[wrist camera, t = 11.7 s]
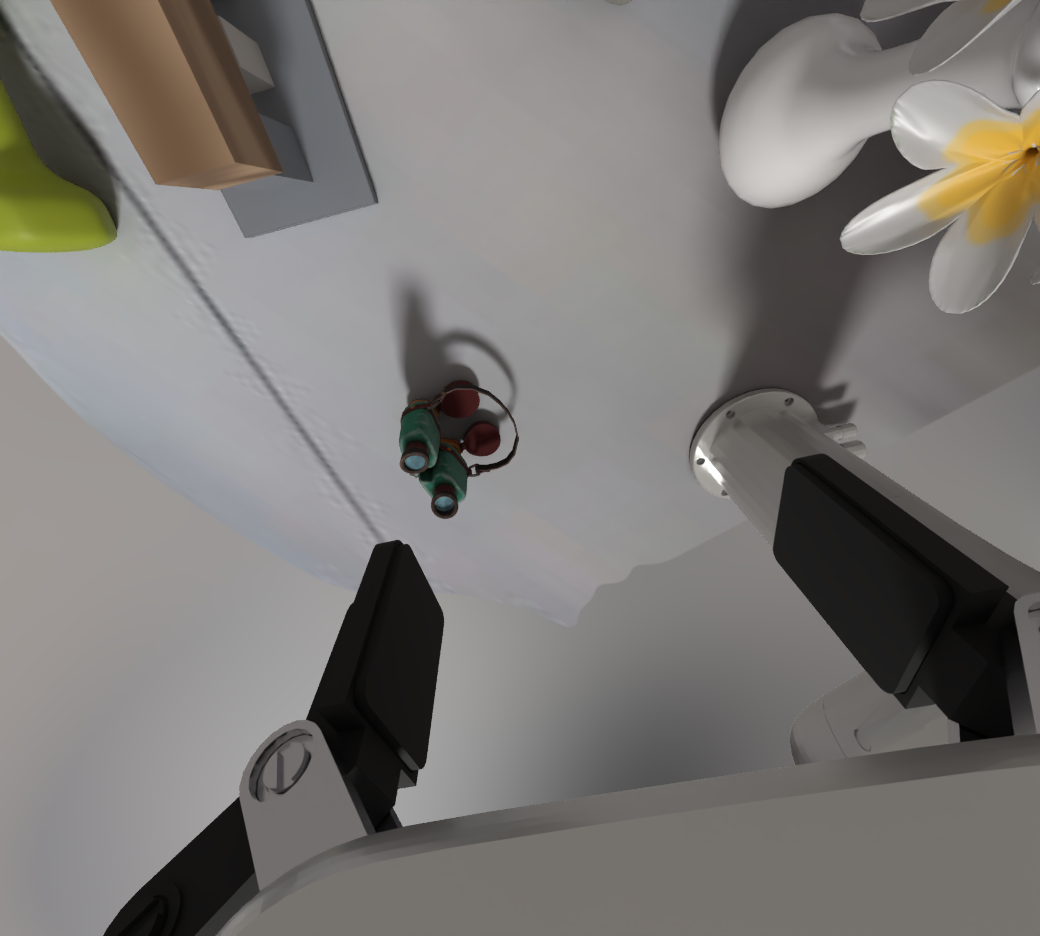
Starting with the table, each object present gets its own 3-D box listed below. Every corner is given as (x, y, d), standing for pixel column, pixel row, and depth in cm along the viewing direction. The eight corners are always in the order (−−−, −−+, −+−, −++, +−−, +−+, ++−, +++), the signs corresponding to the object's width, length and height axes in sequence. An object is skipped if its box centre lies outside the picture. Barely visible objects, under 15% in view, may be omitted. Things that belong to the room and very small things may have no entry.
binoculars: (542, 489, 32) (432, 539, 33) (523, 433, 41) (436, 474, 42) (493, 392, 28) (366, 454, 28) (483, 354, 37) (387, 402, 38)
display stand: (256, -154, 21) (162, -298, 15) (378, 203, 30) (348, 199, 24) (85, -94, 22) (-68, -210, 16) (252, 237, 30) (192, 242, 24)
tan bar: (131, -184, 16) (4, -322, 12) (283, 172, 23) (235, 162, 19) (43, -153, 17) (-110, -277, 13) (218, 190, 23) (155, 184, 19)
